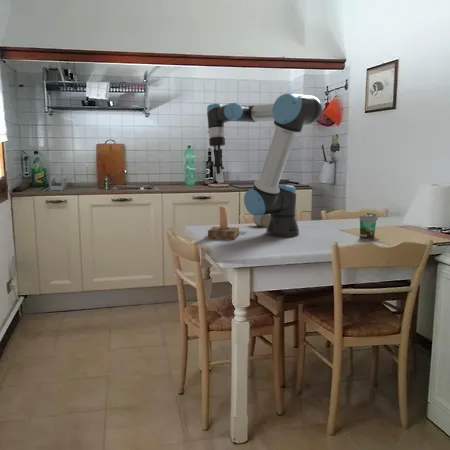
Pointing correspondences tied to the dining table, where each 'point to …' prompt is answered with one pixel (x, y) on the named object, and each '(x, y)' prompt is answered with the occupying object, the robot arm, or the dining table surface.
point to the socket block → (223, 233)
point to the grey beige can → (262, 220)
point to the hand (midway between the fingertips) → (220, 181)
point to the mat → (242, 233)
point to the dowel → (223, 218)
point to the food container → (368, 225)
